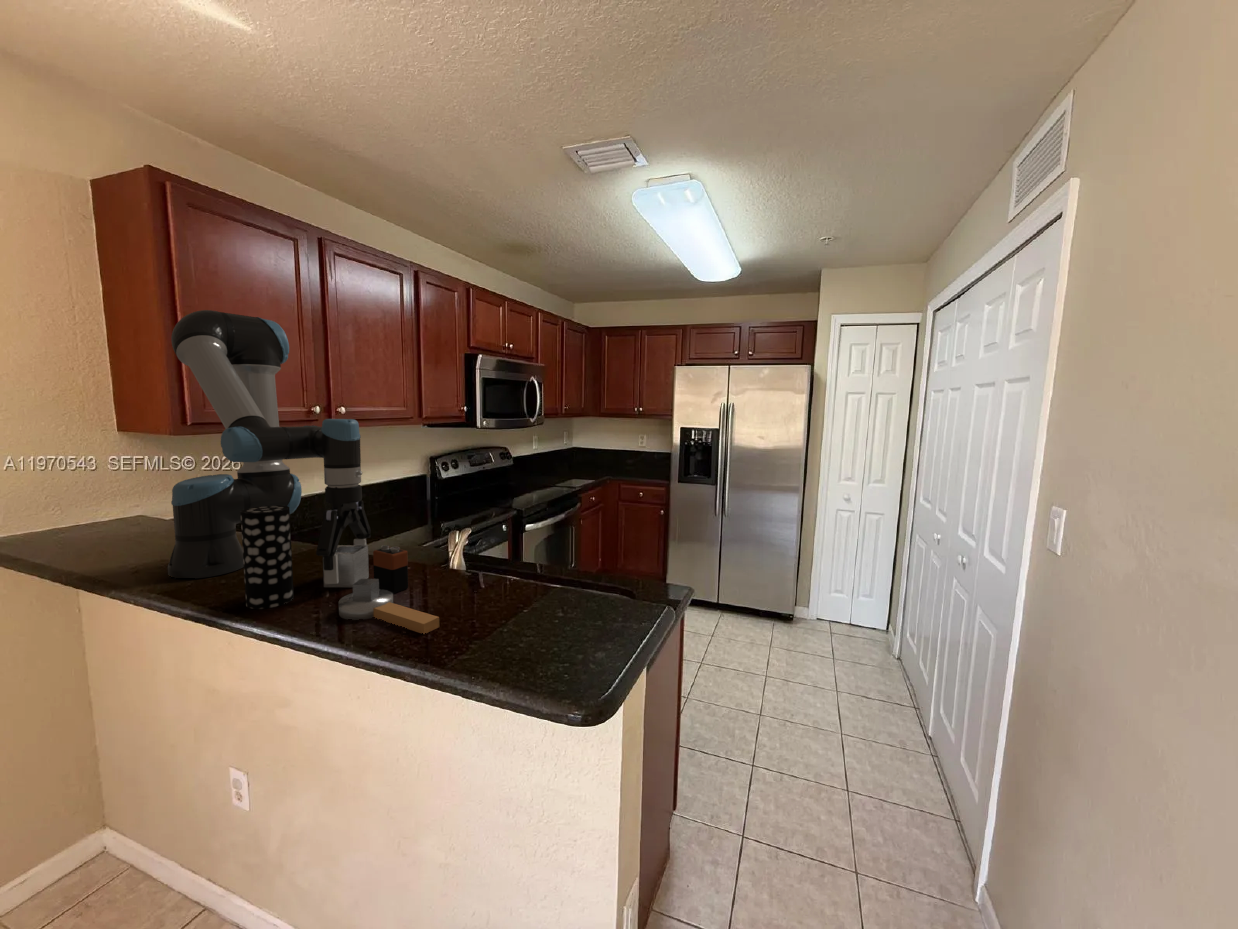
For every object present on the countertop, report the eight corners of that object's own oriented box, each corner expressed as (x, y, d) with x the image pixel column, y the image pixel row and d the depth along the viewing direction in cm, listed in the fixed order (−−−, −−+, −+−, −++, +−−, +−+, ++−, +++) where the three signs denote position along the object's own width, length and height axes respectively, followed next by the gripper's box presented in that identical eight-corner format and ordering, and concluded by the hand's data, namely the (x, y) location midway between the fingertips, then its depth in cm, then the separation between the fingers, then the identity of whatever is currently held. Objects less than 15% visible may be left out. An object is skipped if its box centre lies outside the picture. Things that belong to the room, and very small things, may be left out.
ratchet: (328, 613, 99) (327, 584, 98) (372, 597, 108) (372, 570, 107) (409, 641, 88) (408, 609, 87) (451, 620, 97) (451, 591, 96)
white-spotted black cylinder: (289, 591, 110) (284, 503, 108) (297, 602, 104) (293, 509, 102) (243, 600, 104) (237, 508, 102) (249, 612, 98) (243, 515, 96)
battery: (392, 594, 110) (391, 551, 108) (373, 589, 113) (371, 546, 112) (409, 588, 113) (408, 546, 112) (389, 583, 117) (388, 542, 115)
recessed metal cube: (323, 587, 113) (322, 553, 112) (339, 576, 120) (338, 545, 119) (354, 587, 113) (353, 553, 112) (368, 577, 120) (367, 545, 119)
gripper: (330, 494, 102) (335, 592, 104) (383, 478, 127) (385, 557, 129) (293, 493, 101) (299, 592, 104) (353, 477, 126) (356, 557, 128)
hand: (347, 573), depth 116 cm, fingers open, 13 cm apart
